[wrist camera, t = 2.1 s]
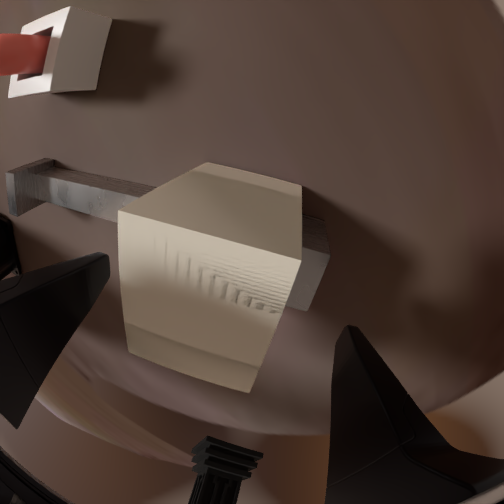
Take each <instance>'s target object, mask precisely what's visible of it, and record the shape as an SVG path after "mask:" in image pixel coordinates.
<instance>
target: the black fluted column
mask: <svg viewBox="0 0 504 504" xmlns="http://www.w3.org/2000/svg"><path fill="white" fill-rule="evenodd" d="M192 453H194V454H196V455H195V456H194V457H193V458H192V461H191V462H194V463H197V464H196V465H195V466H193V468H192V471H194V472H197V473H198V475H197V478H196V481H195V484H194V487H193V490H192V494H191V497H190V499H189V503H188V504H236V502H237V498H238V494H239V490H240V486H241V481H242V480H245V479H248V478H250V477H251V472H248V471H250V470H252V469H255V468H257V464H258V463H256V462H255V461H257V460H259V459H261V458H263V453H261V452H257V451H254V450H250V449H246V448H243V447H240V446H237V445H234V444H231V443H227V442H224V441H222V440H218V439H216V438H213V437H210V436H206V437H205V438H204V439H203V440H202V441H201V442H200V443H198V444H197V445H196V446H195V447H194V448H193V449H192Z"/></svg>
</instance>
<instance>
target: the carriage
mask: <svg viewBox="0 0 504 504" xmlns="http://www.w3.org/2000/svg"><path fill="white" fill-rule="evenodd" d="M118 253H119V273H120V287H121V298H122V308H123V317H124V325H125V332H126V339H127V346H128V352H129V353H132V354H134V355H136V356H139V357H141V358H144V359H146V360H149V361H151V362H154V363H156V364H159V365H161V366H164V367H167V368H169V369H172V370H175V371H178V372H180V373H183V374H186V375H189V376H192V377H195V378H198V379H201V380H204V381H208V382H211V383H214V384H217V385H221V386H224V387H228V388H231V389H235V390H239V391H242V392H246V393H250V390H251V388H252V386H253V383H254V381H255V379H256V376H257V374H258V372H259V369H260V367H261V365H262V362H263V360H264V357H265V355H266V352H267V350H268V348H269V345H270V343H271V340H272V338H273V335H274V333H275V330H276V328H277V325H278V322H279V320H280V317H281V315H282V312H283V310H284V307H285V304H286V302H287V299H288V296H289V294H290V291H291V288H292V286H293V283H294V280H295V277H296V275H297V272H298V269H299V266H300V263H301V261H302V186H301V185H298V184H294V183H290V182H287V181H283V180H280V179H276V178H272V177H268V176H264V175H260V174H257V173H253V172H248V171H244V170H240V169H236V168H232V167H227V166H223V165H218V164H214V163H209V162H206V163H204V164H202V165H200V166H198V167H196V168H194V169H192V170H190V171H188V172H186V173H184V174H182V175H180V176H178V177H176V178H174V179H172V180H171V181H169V182H167V183H165V184H163V185H161V186H159V187H157V188H156V189H154V190H152V191H150V192H148V193H147V194H145V195H143V196H141V197H140V198H138V199H136V200H134V201H133V202H131V203H129V204H128V205H126V206H124V207H123V208H121V209H119V210H118Z"/></svg>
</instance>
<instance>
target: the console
mask: <svg viewBox="0 0 504 504" xmlns="http://www.w3.org/2000/svg"><path fill="white" fill-rule="evenodd" d="M111 23H112V19H111V18H108V17H105V16H102V15H99V14H96V13H93V12H90V11H86V10H83V9H79V8H76V7H72V6H69V7H67V8H64V9H61V10H59V11H56V12H54V13H51V14H49V15H47V16H44V17H42V18H40V19H37V20H35V21H33V22H31V23H29V24H27V25H25V26H23V27H22V31H21V34H29V35H42V36H51V38H50V42H49V46H48V50H47V55H46V59H45V64H44V69H43V73H32V74H15V75H11V80H10V87H9V94H8V98H13V97H20V96H28V95H38V94H49V93H58V92H69V91H83V90H96V87H97V81H98V76H99V71H100V66H101V61H102V57H103V52H104V48H105V44H106V40H107V37H108V33H109V30H110V26H111Z"/></svg>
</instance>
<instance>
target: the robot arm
mask: <svg viewBox="0 0 504 504" xmlns="http://www.w3.org/2000/svg"><path fill="white" fill-rule="evenodd" d="M11 272H12V273H14V274H15V275H17V276H14V277H11V278H8V279H4V280H2V279H3V278H4V277H6V276H7V275H8V274H9V273H11ZM109 277H110V262H109V256H108V255H107V254H104V253H102V252H97V253H93V254H90V255H86V256H82V257H79V258H75V259H72V260H68V261H65V262H61V263H58V264H54V265H51V266H47V267H44V268H41V269H37V270H34V271H31V272H27V273H25V274H21V269H20V265H19V261H18V257H17V252H16V248H15V243H14V238H13V232H12V226H11V223H10V221H9V220H7V219H5V218H2V217H0V415H1V416H2V417H4V418H5V419H6V420H7V421H8V422H9V423H10V424H11V425H12V426H13V427H14V428H15V429H18V427H19V426H20V424H21V422H22V419H23V418H24V416H25V414H26V412H27V410H28V408H29V406H30V404H31V403H32V401H33V399H34V397H35V395H36V394H37V392H38V390H39V388H40V386H41V384H42V383H43V381H44V379H45V378H46V376H47V374H48V373H49V371H50V369H51V368H52V366H53V364H54V363H55V361H56V360H57V358H58V356H59V355H60V353H61V352H62V350H63V349H64V347H65V346H66V344H67V343H68V341H69V340H70V338H71V337H72V335H73V334H74V332H75V331H76V329H77V328H78V326H79V325H80V323H81V322H82V321H83V319H84V318H85V316H86V315H87V314H88V312H89V311H90V309H91V308H92V306H93V304H94V303H95V301H96V299H97V298H98V296H99V294H100V293H101V291H102V289H103V288H104V286H105V284H106V283H107V281H108V279H109ZM0 504H74V503H73V502H71V501H69V500H68V499H66V498H65V497H63V496H62V495H60V494H59V493H57V492H56V491H54V490H53V489H51V488H50V487H49V486H47V485H46V484H44V483H43V482H42V481H40V480H39V479H38V478H36V477H35V476H34V475H33V474H31V473H30V472H29V471H28V470H26V469H25V468H24V467H23V466H22V465H21V464H19V463H18V462H17V461H16V460H15V459H14V458H12V457H11V456H10V455H9V454H8V453H7V452H6V451H5V450H4V449H3V448H2V447H1V446H0ZM325 504H504V459H497V458H491V457H486V456H481V455H477V454H472V453H468V452H464V451H460V450H458V449H456V448H454V447H452V446H451V445H450V444H449V443H448V442H447V441H446V440H445V439H444V437H443V436H442V435H441V434H440V433H439V431H438V430H437V429H436V428H435V427H434V426H433V425H432V423H431V422H430V421H429V420H428V419H427V417H426V416H425V415H424V414H423V413H422V411H421V410H420V409H419V407H418V406H417V405H416V403H415V402H414V401H413V399H412V398H411V397H410V395H409V394H407V391H406V390H405V389H404V387H403V386H402V385H401V383H400V382H399V380H398V379H397V378H396V376H395V375H394V374H393V372H392V371H391V370H390V368H389V367H388V366H387V365H386V363H385V362H384V361H383V359H382V358H381V357H380V355H379V354H378V353H377V351H376V350H375V349H374V348H373V346H372V345H371V344H370V342H369V341H368V340H367V339H366V337H365V336H364V335H363V333H362V332H361V331H360V330H359V328H358V327H355V326H351V325H347V326H346V327H345V328H344V330H343V331H342V333H341V335H340V336H339V338H338V340H337V342H336V345H335V354H334V364H333V373H332V383H331V428H330V449H329V464H328V477H327V488H326V496H325Z"/></svg>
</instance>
